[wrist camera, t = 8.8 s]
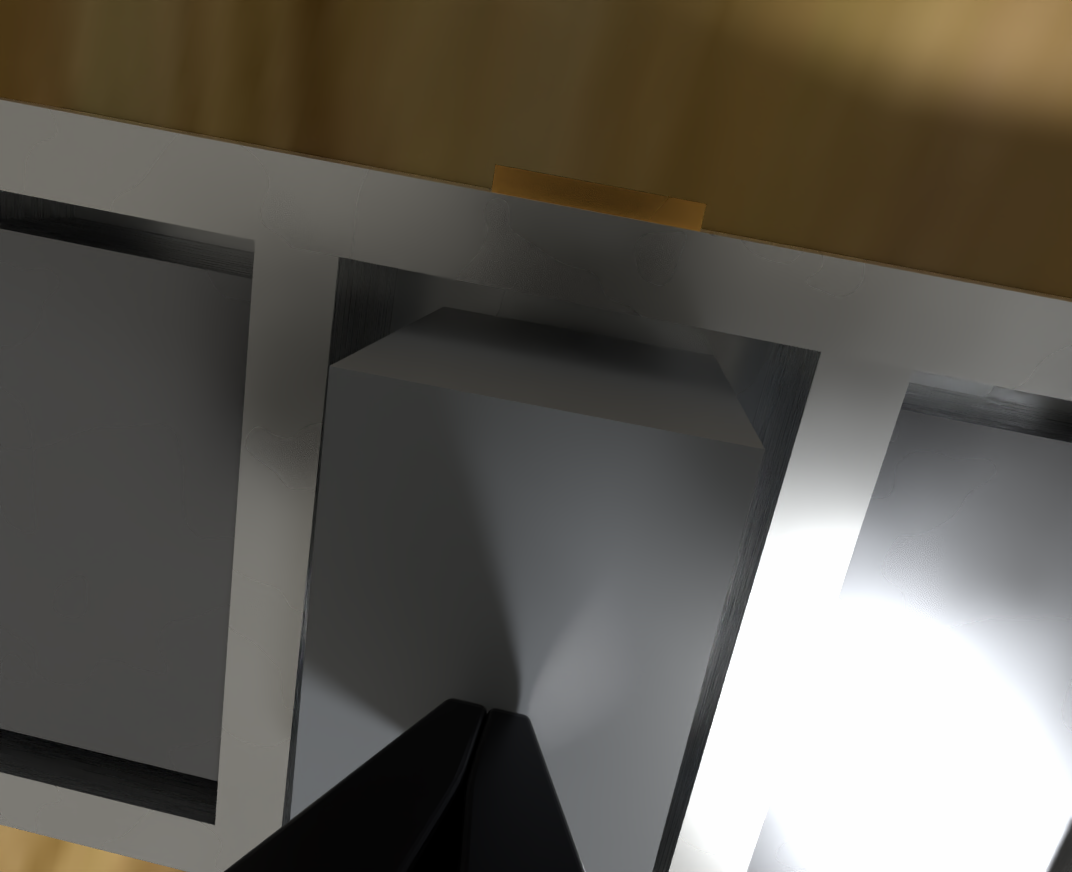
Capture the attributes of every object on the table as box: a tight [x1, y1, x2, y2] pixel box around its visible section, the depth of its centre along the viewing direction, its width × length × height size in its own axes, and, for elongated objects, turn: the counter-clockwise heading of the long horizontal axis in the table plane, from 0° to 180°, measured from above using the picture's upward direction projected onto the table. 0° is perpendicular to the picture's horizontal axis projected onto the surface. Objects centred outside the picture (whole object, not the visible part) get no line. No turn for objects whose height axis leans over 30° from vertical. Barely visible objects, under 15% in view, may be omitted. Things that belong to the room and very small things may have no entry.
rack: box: [0, 97, 1072, 872], centre depth 12 cm, size 18×11×4 cm, turn 79°
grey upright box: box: [290, 306, 765, 872], centre depth 10 cm, size 4×7×4 cm, turn 170°
